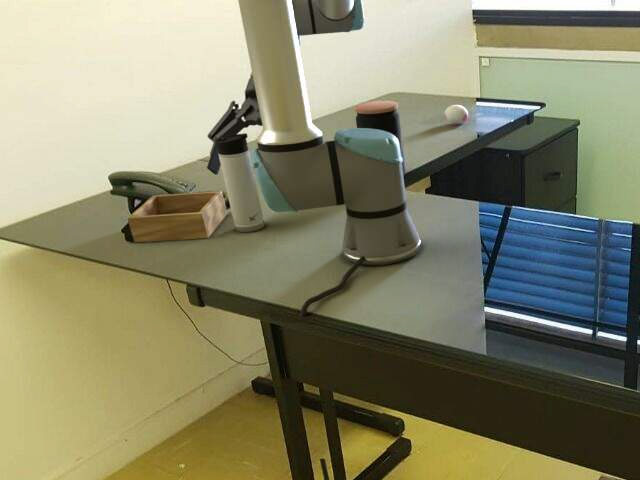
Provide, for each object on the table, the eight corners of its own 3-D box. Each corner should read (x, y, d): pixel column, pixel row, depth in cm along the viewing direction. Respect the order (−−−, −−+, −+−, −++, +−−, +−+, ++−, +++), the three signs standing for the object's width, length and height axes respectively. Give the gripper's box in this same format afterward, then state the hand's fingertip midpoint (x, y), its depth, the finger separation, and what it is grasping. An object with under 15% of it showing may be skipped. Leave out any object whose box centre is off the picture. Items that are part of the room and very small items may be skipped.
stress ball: (470, 132, 252) (472, 112, 252) (464, 123, 244) (466, 102, 244) (447, 131, 253) (450, 111, 254) (440, 122, 246) (443, 101, 246)
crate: (208, 238, 169) (201, 213, 166) (134, 242, 169) (127, 218, 166) (227, 214, 183) (222, 190, 180) (159, 218, 183) (152, 195, 180)
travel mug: (262, 231, 170) (242, 137, 160) (232, 233, 171) (210, 139, 161) (269, 222, 176) (250, 130, 166) (240, 223, 176) (219, 132, 166)
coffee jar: (399, 184, 195) (390, 109, 186) (358, 184, 197) (347, 110, 188) (411, 172, 204) (403, 100, 194) (371, 172, 206) (362, 101, 197)
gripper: (323, 96, 169) (295, 185, 165) (231, 94, 179) (202, 178, 175) (305, 74, 163) (275, 167, 158) (210, 73, 172) (180, 160, 168)
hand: (237, 173), depth 167 cm, fingers open, 13 cm apart
